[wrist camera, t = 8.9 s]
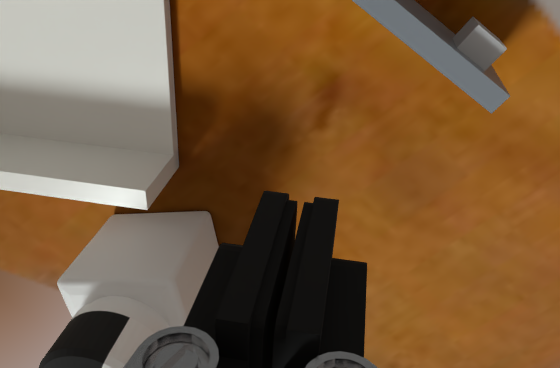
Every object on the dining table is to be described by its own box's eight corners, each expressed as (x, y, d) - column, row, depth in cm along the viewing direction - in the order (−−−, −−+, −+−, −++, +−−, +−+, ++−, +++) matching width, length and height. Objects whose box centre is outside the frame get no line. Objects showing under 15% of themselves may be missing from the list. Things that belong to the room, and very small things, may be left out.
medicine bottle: (140, 294, 38) (50, 444, 28) (110, 212, 34) (-5, 349, 24) (232, 293, 36) (173, 453, 26) (211, 208, 33) (132, 353, 23)
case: (-139, -205, 24) (-250, -224, 20) (158, -193, 23) (105, -212, 18) (-39, 138, 33) (-100, 175, 29) (179, 166, 32) (147, 210, 27)
